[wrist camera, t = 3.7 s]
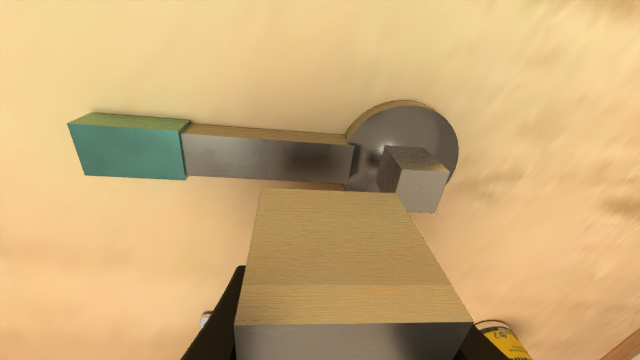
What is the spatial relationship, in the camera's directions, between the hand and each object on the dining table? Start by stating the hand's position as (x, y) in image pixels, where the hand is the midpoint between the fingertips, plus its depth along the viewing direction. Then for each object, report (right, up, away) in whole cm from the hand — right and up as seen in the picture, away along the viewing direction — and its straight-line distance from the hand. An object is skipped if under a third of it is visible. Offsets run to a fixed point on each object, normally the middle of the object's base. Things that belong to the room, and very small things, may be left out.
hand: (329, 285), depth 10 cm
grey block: (0, +1, +2) cm, 2 cm away
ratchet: (-2, +6, +6) cm, 9 cm away
